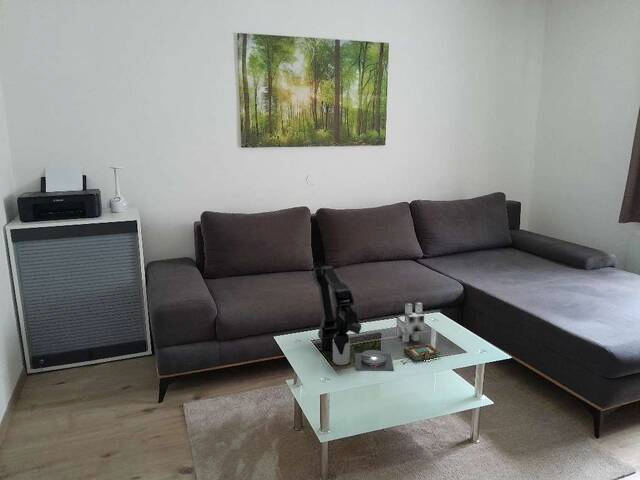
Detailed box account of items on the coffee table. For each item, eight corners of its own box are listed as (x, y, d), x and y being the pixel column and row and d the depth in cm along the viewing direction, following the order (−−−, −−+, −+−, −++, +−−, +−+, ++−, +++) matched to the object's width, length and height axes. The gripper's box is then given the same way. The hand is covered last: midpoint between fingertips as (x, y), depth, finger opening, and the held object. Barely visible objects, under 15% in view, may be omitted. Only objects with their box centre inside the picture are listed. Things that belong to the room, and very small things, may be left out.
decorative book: (393, 356, 219) (393, 345, 218) (427, 351, 224) (428, 340, 223) (407, 368, 206) (407, 357, 206) (443, 363, 212) (444, 352, 211)
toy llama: (408, 332, 245) (409, 294, 242) (423, 346, 229) (424, 305, 225) (394, 333, 244) (395, 295, 240) (408, 347, 227) (409, 306, 223)
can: (348, 366, 208) (348, 340, 206) (331, 365, 209) (331, 339, 207) (351, 359, 215) (351, 333, 213) (334, 358, 217) (334, 332, 214)
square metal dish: (355, 370, 205) (355, 362, 204) (354, 355, 219) (354, 347, 219) (393, 370, 204) (394, 363, 203) (390, 355, 219) (390, 348, 218)
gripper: (361, 324, 199) (360, 359, 202) (359, 308, 217) (359, 341, 220) (333, 324, 199) (333, 359, 202) (334, 308, 217) (334, 341, 221)
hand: (341, 350), depth 211 cm, fingers open, 8 cm apart
